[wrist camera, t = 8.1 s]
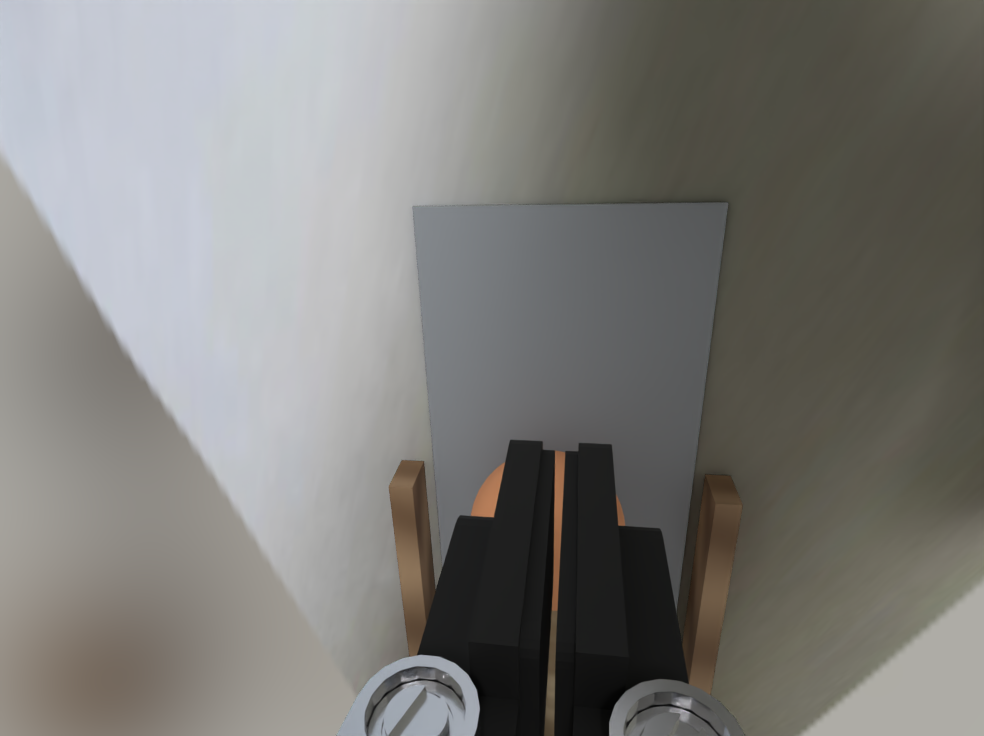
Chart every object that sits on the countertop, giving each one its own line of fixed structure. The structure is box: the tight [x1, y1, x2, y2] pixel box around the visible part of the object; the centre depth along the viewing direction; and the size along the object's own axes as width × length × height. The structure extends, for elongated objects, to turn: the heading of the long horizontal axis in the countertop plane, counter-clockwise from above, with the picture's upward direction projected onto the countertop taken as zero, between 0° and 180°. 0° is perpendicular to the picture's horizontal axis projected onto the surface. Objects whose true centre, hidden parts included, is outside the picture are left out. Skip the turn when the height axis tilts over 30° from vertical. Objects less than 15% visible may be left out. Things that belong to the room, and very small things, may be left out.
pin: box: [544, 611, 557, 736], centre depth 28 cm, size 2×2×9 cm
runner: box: [413, 202, 728, 612], centre depth 26 cm, size 26×11×1 cm, turn 2°
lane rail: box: [389, 460, 743, 695], centre depth 27 cm, size 16×14×4 cm
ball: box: [471, 451, 625, 611], centre depth 23 cm, size 6×6×6 cm
